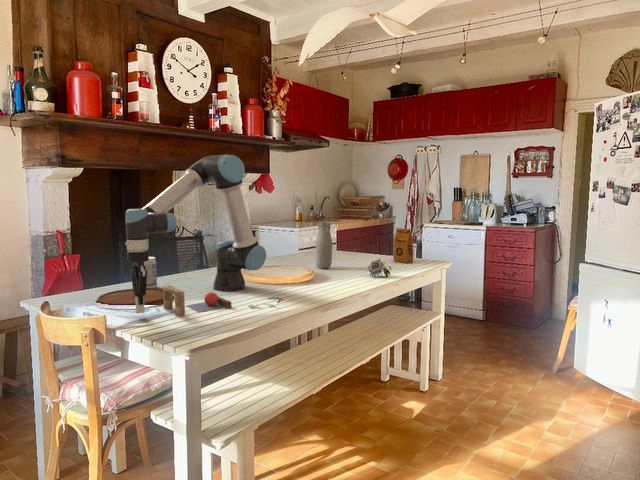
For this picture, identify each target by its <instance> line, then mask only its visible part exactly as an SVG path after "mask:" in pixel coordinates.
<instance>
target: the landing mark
mask: <svg viewBox="0 0 640 480" xmlns="http://www.w3.org/2000/svg"><path fill="white" fill-rule="evenodd" d="M185 307H187V308H189V309H192V310H193V311H195V312H197V313H203V312H211V311H215V310H221V309H226V308H225V307H223V306H221V305H219V304H215V305H213V306H209V305H207V304H206V303H205V301H204V302H198V303H191V304H186V305H185Z"/></svg>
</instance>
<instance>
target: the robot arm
mask: <svg viewBox="0 0 640 480" xmlns="http://www.w3.org/2000/svg"><path fill="white" fill-rule="evenodd" d="M245 169H246V168H245V165H244V162H243V161H242V160H241V158H240V157H238V156H236V155H233V154H218V155H217V154H216V155H208V156H205V157H204V156H203V157H202V158H201V159H199V160H198V161H196V162H195V163H193V164H192V165H190V166H189V167H188V168H187V169H186V170H185V171H184V173H185V174H183V176H181V177H180V178H179V179H177V180H176V181H175V182H173V183H172V184H171V185H169V186H168V187H167V188H165V190H164V191H162V192H161V193H160V194H159V195H157V196H156V197H155V198H153V199H152V200H151V201H150V202H148V203H147V204H146V205H145V206H143V207H142V208H129V209H127V210H126V211H125V218H124V219H125V220H124V221H125V235H126V241H125V243H124V245H125V246H126V250H127V252H126V257H127V258H126V260H127V262H129V263H132V266H130V267H129V269H130V270H129V271H130V275H131V284H132V289H133V293H135V301H136V309H135V313H136V314H142V313H145V308H144V295H146V282H147V273H148V272H147V271H145V266H144V262H145V261H148V260H149V257H150V255H149V254H150V253H149V251H148V250H149V234H161V233H165V234H167V233H170V232H173V231H175V229H176V228H177V218H176V216H175V215H174V213H172V212H169V211H170V210H172V209H173V208H175V206H177V205H178V204H179V203H180V202H181V201H182V200H184V199H185V198H186V197H187V196H189V195H190V194H191V193H192V192H194V190H196V189H199V188H202V187H203V186H204V185H206V184H209V183H214V184H215V187H216V190H217V191H219V192H220V193H221V196H222V200H223V203H224V207H225V210H226V214H227V217H228V221H229V225H230V229H231V231H232V236H233V240H225V241H224V240H223V241H218V242H217V243H216V249H215V253H216V275H215V278H214V281H213V283H212V284H213V289H214V290H216V291H219V292H220V291H223V292H232V291H240V290H242V289H246V282H245V279H244V278H245V277H244V276H243V273H242V270H243V269H244V270H248V271H258V270H260V269H261V268H262V267H263V266H264V264H265V262H266V260H267V250H266V249H265V247H263V246H262V245H260V244H259V241H258V238H257V237H255V236H254V234H253V232H252V227H251V224H250V219H249V216H248V211H247V207H246V204H245V201H244V197H243V194H242V193H243V192H242V189H241V186H242V185H243V179H244V177H245V175H244V174H245V173H246V171H245Z"/></svg>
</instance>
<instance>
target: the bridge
mask: <svg viewBox="0 0 640 480" xmlns="http://www.w3.org/2000/svg"><path fill="white" fill-rule="evenodd" d="M162 289H163V305H162V306H163V309H164V308H165V309H167V310H173V308H174V312H175V313H174V315H175V317H184V316H186V311H185V310H186V309H185V307H186V305H185V291H184V290H182V289H179V288H177V287H175V286H172V285H170V284H169V285H163V286H162ZM172 294H173V296H174V304H173V300H172ZM173 306H174V307H173ZM165 309H164V310H165Z"/></svg>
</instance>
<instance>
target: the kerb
mask: <svg viewBox="0 0 640 480" xmlns="http://www.w3.org/2000/svg"><path fill="white" fill-rule="evenodd" d="M216 304H219V305H221V306H223V307H225V308H224V309H227V310H229V309H232V304H233V303H232V301H230V300H228V299H225V298H223V297H222V296H218V302H217V303H216Z"/></svg>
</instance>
